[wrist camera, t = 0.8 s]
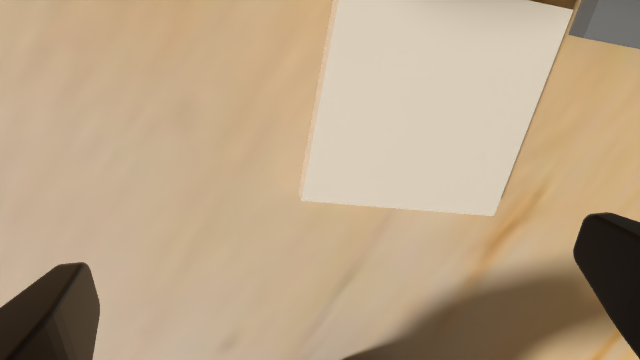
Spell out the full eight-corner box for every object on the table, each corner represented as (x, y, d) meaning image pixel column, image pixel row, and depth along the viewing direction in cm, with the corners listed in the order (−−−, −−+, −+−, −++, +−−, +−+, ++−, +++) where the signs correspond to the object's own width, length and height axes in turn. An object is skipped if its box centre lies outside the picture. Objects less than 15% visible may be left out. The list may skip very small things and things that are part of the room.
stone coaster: (484, 206, 24) (493, 215, 23) (298, 190, 22) (301, 200, 21) (558, 7, 20) (573, 9, 19) (339, -39, 18) (345, -39, 17)
